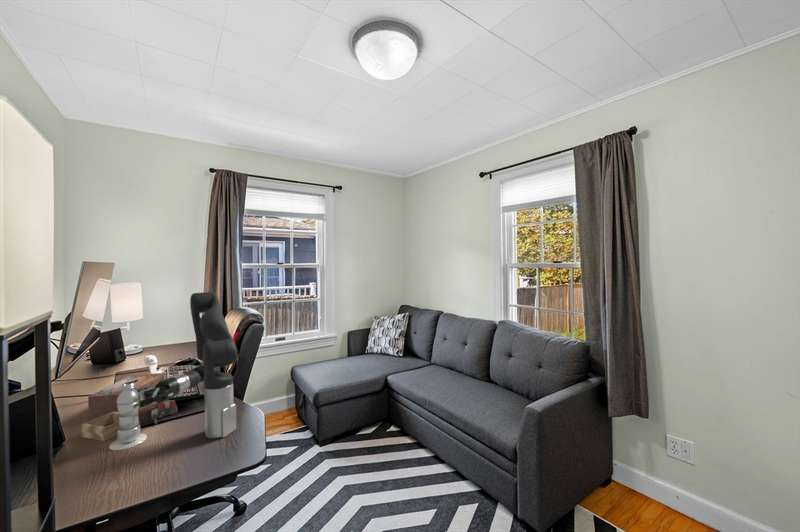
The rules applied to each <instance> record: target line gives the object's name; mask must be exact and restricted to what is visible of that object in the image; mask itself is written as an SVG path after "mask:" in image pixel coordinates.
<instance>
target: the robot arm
mask: <svg viewBox="0 0 800 532" xmlns="http://www.w3.org/2000/svg"><path fill="white" fill-rule="evenodd" d="M189 304H190V307H189V308H190V313H191V314H190V315H191V319H192V324H193V330H194V335H195V341H196V342H195V343H196V344H195V345H196V356H197V357H196V358H197V359H198V360H200V361H202V364H203V365H199V366H196V367H194V368H192V369H191V370H189V371H186V372H184V373H179V374H176V375H173V376H171V377H168V378H165V380H162V381H160V382H158V383H157V385H156V386H155V387H154V388H150V389H147V388H143V389H140V390H137V392H138V393H139V394H140V402H139V407H144V406H146V407H147V406H149V405H152V404H157V403H161V402H163V401H165V400H169V399H173V397H177V396H178V395H180V394H182V393H184V392H186V391H189V390H190V389H193V388H195V387H196V386H198V385H199V384H200V383H203V385H204V386H203V388H204V432H205V433H204V435H205V437H206V438H208V439H219V438H225V437H227V436H228V435H229V434H231V433H233V432H235V431H236V430H237V404H236V403H234V402H235V401H234V376H233V375H232V374H231V373H228V372H221V367H225V366H229V365H233V364H235V363H236V361H237V359H238V353H239V352H238V348H237V345H236V341H235V340H234V338H233V336H232V335H231V333H230V331H229V328H228V325H227V321H226V319H225V317H224V314H223V311H222V309H221V305H220V301H219V297H218V294H217V293H216V292H213V291H206V292H194V293H192V294H191V295H190V299H189ZM200 314H202V316H201V315H200ZM142 396H144V397H145V398H143V397H142ZM144 408H145V407H144Z"/></svg>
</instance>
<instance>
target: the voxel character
mask: <svg viewBox="0 0 800 532" xmlns="http://www.w3.org/2000/svg"><path fill="white" fill-rule="evenodd" d="M144 364H145V365H147V367H148V371H149V372H147V373H145V374H155V373H163V372H162V369H161V370H157V368H158V360H157V356H155V355H154V354H153V355H152V354H149V355H146V356H145V358H144Z"/></svg>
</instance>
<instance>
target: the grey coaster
mask: <svg viewBox="0 0 800 532" xmlns="http://www.w3.org/2000/svg"><path fill="white" fill-rule="evenodd" d="M147 437H148V435H147V434H144V433H140V436H139V437H138V439H136V440H134V441H132V442H129V443H120V442H118V439H116V440H114V441H113V442H111V443H110V444H109V449H110V451H124V450H128V449H132V448H133V447H136V446H138V445H141V444H142V443H144V442H145V441H146V440H147Z"/></svg>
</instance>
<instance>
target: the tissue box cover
mask: <svg viewBox="0 0 800 532" xmlns="http://www.w3.org/2000/svg"><path fill="white" fill-rule="evenodd" d="M165 379H166V378H165V372H162V373H155V374H146V373H143V374H142V373H141V374H139V373H138V374H130V375H128V376H126V377H124V378H122V379H120V380H118V381H116V382H114V383H113V384H110V385H108V386H107V387H104V388H102V389H101V390H99V391H96V392H95V393H93V394H91V395H89V396H87V401H88V410H87V411H88V421H91V420H93V419H96V418H98V417H101V416H103V415H106V414H108V413H111V412H118V407H117V398H118V397H119V395H120V394H121V392H122V390H121V388H122V384H123V383H126V382H135V388H134V389H135V390H136V391H137V390H140V389H143V388H147V389H150V388H154V387H155V386H156V385H157V383H158V382H160V381H162V380H165ZM142 397H143V398H145V397H144V396H142ZM145 407H147V406H144V407H139V411H138V412H140V411H142V410H143V409H145Z"/></svg>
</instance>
